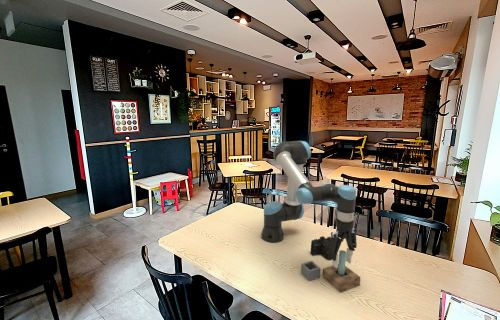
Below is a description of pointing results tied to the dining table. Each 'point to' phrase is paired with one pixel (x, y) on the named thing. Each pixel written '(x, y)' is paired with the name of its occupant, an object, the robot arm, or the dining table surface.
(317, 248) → the camera
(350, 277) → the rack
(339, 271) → the dowel
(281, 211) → the robot arm
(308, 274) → the pen cup
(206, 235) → the dining table surface
